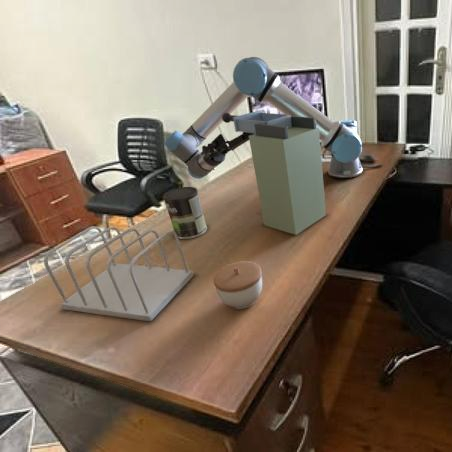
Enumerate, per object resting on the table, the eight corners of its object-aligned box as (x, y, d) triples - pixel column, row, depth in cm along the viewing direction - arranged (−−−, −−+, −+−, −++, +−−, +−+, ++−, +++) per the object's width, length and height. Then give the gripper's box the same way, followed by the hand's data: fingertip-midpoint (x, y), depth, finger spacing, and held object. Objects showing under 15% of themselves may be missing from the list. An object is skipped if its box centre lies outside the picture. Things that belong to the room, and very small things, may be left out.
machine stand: (326, 215, 121) (317, 116, 105) (295, 235, 110) (281, 128, 94) (295, 206, 129) (283, 114, 113) (263, 224, 118) (245, 124, 102)
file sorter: (63, 310, 85) (32, 256, 77) (117, 268, 99) (95, 220, 92) (151, 322, 79) (127, 265, 72) (194, 276, 94) (178, 225, 86)
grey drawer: (293, 126, 110) (291, 112, 108) (266, 135, 102) (263, 120, 100) (238, 121, 124) (236, 108, 122) (210, 128, 116) (207, 114, 114)
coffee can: (184, 242, 110) (171, 202, 104) (169, 233, 117) (157, 194, 110) (213, 229, 117) (203, 190, 110) (198, 221, 123) (187, 184, 117)
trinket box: (255, 318, 78) (248, 284, 73) (212, 313, 80) (202, 280, 76) (272, 287, 87) (266, 256, 83) (233, 284, 89) (225, 253, 85)
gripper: (242, 156, 142) (270, 134, 127) (188, 176, 124) (214, 153, 109) (232, 139, 141) (260, 115, 126) (177, 157, 123) (201, 131, 108)
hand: (238, 132), depth 118 cm, fingers open, 13 cm apart
